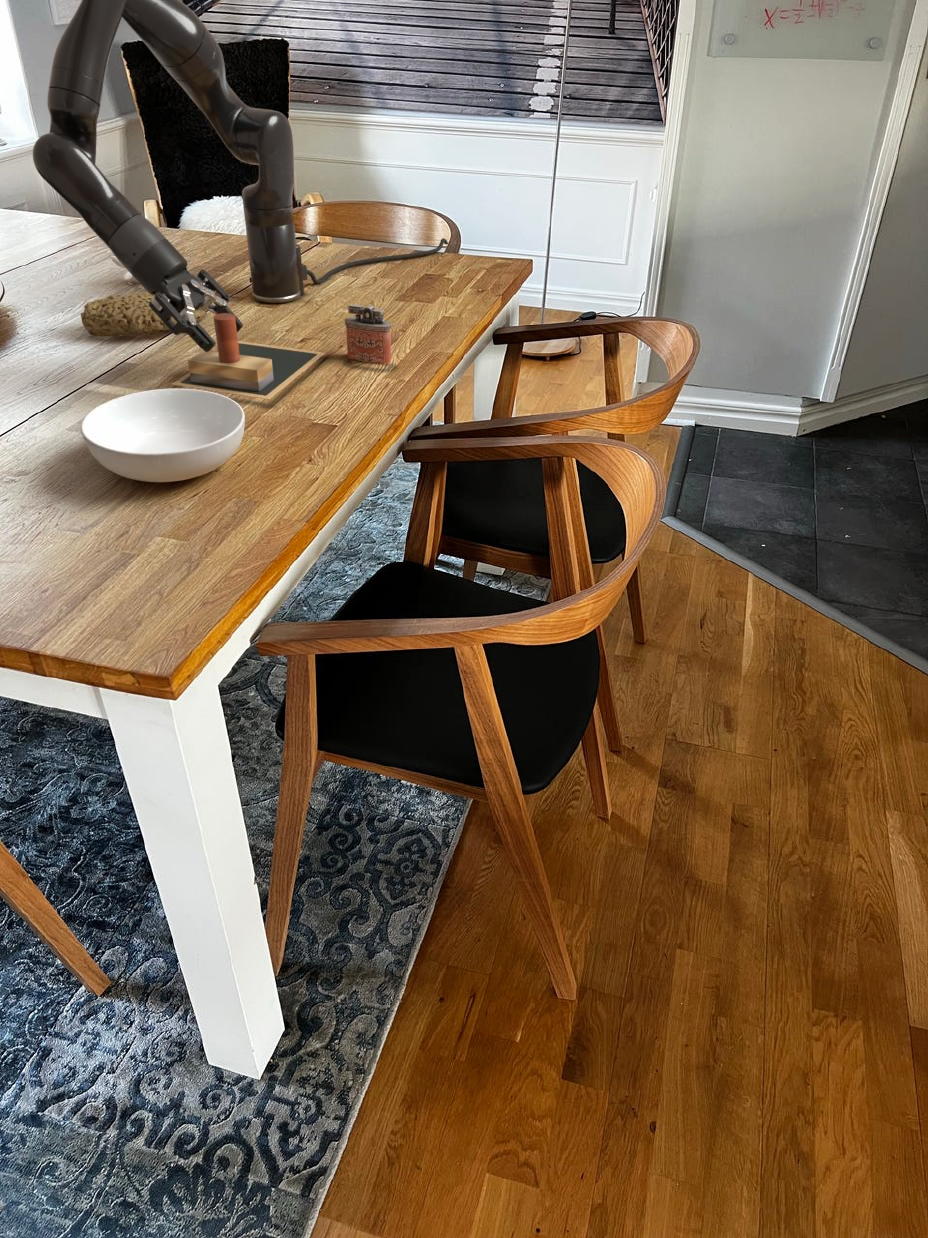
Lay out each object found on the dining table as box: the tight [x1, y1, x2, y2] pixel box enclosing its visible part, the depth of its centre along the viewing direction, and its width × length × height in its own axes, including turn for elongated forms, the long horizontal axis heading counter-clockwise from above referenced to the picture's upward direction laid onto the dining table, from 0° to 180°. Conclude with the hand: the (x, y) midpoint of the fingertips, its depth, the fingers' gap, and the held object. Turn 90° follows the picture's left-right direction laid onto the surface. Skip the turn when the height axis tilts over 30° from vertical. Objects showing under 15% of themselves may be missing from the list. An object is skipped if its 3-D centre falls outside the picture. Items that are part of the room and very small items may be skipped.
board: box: [171, 340, 326, 400], centre depth 156 cm, size 21×17×1 cm
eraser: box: [187, 313, 274, 392], centre depth 148 cm, size 12×5×10 cm, turn 73°
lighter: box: [344, 303, 393, 372], centre depth 157 cm, size 8×3×10 cm, turn 71°
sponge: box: [80, 291, 208, 337], centre depth 170 cm, size 13×8×20 cm
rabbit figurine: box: [110, 255, 139, 286], centre depth 193 cm, size 6×4×8 cm
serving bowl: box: [80, 388, 246, 483], centre depth 127 cm, size 21×21×7 cm
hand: (225, 338), depth 147 cm, fingers open, 8 cm apart
